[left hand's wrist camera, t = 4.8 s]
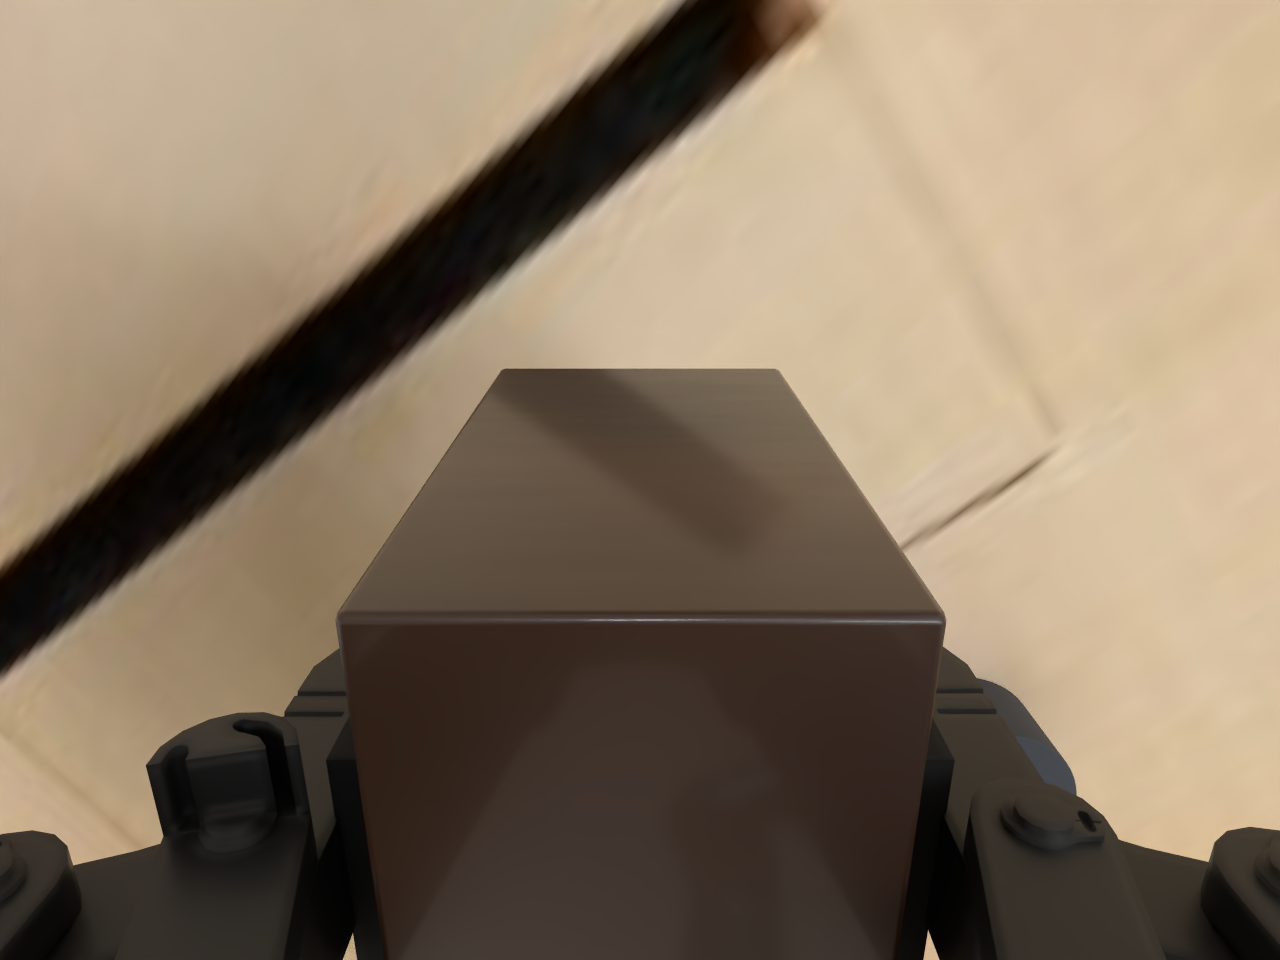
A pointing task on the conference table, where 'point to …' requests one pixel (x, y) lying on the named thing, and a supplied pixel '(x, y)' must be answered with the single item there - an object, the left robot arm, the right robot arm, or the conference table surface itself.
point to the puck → (1031, 737)
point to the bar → (640, 683)
